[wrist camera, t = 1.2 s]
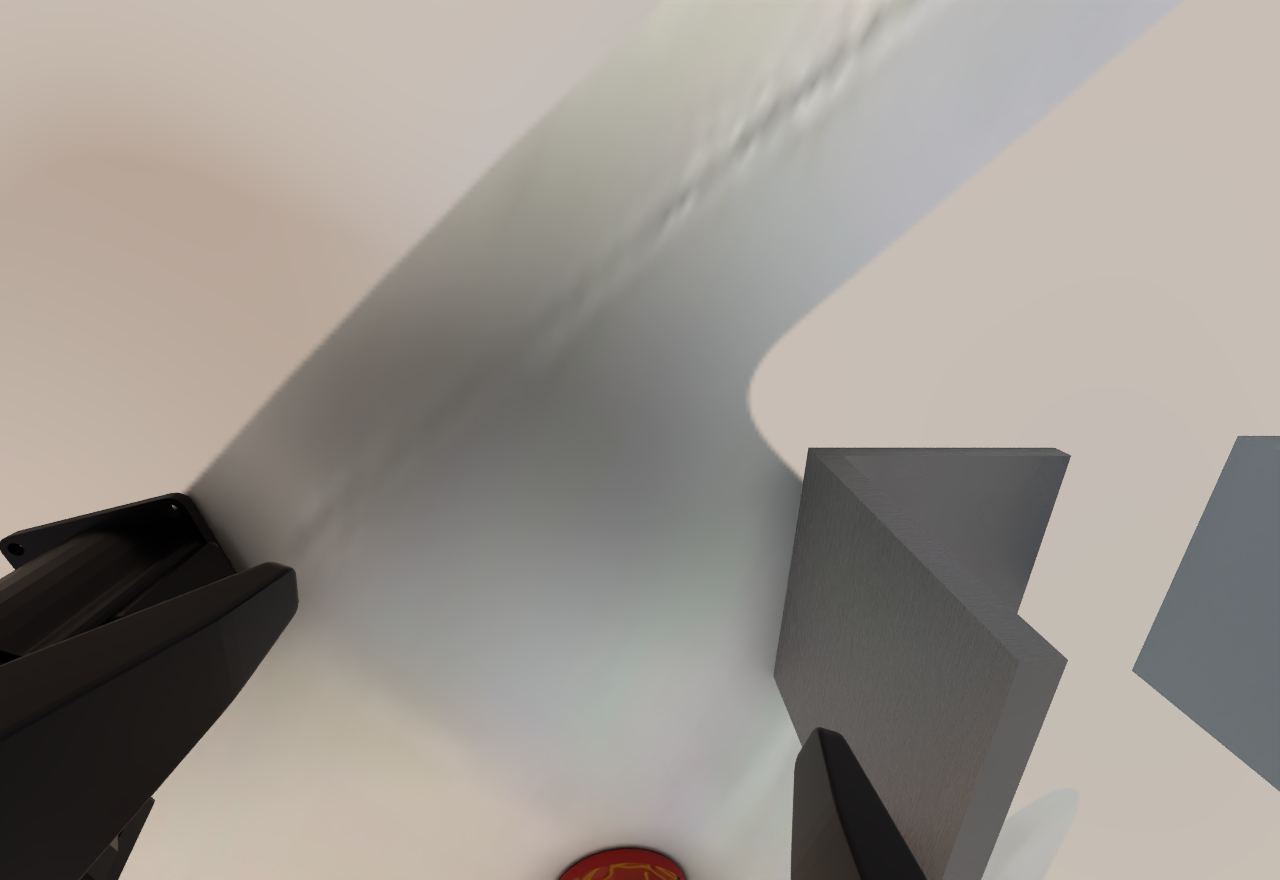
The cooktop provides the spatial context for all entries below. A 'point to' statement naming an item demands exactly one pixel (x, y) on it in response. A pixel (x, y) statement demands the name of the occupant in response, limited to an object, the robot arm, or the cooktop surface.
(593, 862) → the canned food
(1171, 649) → the book row
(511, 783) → the cooktop surface
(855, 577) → the bookend
